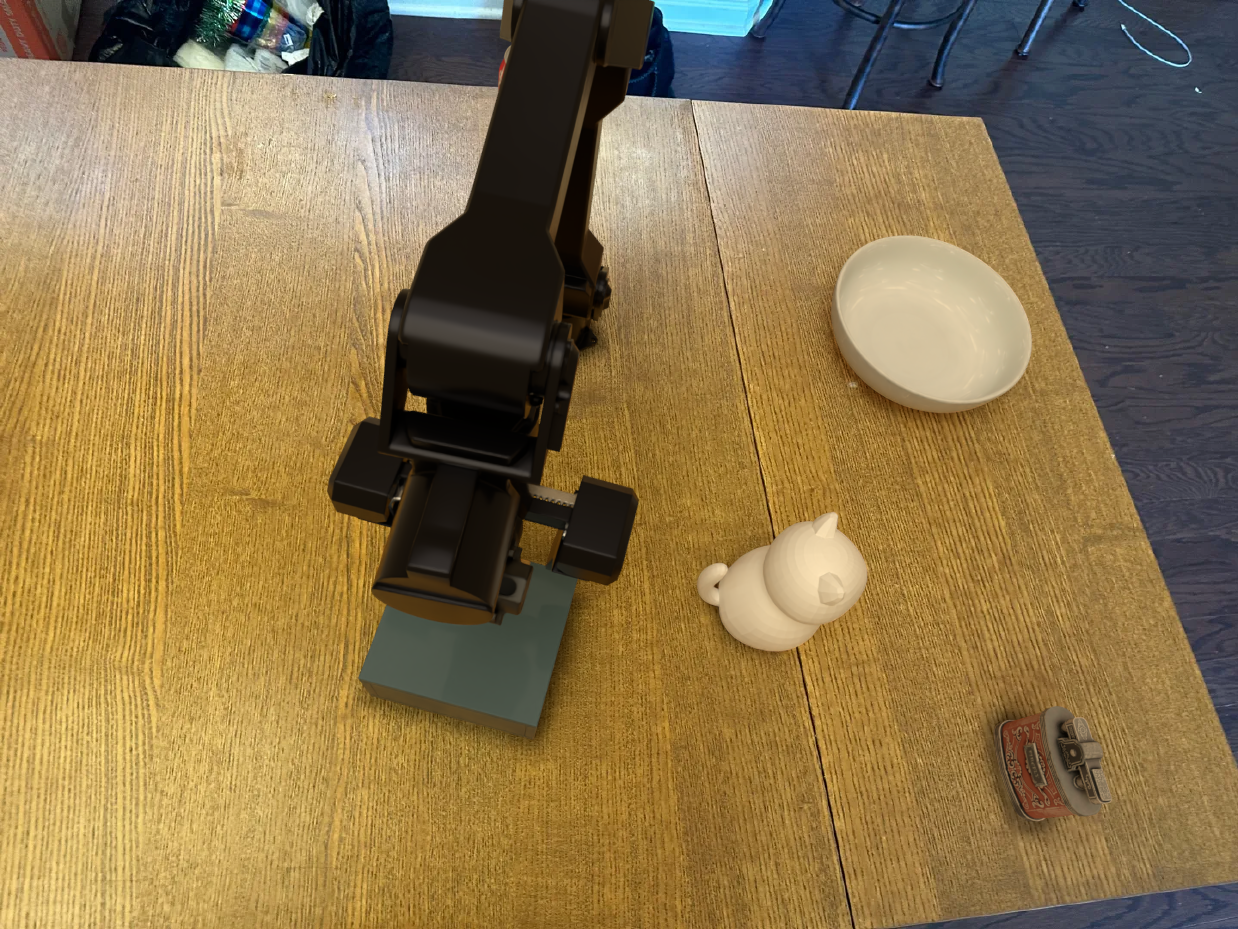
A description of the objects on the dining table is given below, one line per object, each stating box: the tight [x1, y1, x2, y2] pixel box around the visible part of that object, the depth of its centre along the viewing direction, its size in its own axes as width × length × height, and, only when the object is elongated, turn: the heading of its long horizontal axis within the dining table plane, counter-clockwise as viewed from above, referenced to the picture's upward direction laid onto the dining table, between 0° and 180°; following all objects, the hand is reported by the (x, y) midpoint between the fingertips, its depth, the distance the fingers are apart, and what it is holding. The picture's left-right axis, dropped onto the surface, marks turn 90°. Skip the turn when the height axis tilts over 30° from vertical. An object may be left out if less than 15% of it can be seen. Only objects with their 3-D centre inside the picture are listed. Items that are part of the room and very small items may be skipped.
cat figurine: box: [696, 511, 868, 652], centre depth 66 cm, size 9×12×15 cm
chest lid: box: [357, 558, 579, 729], centre depth 61 cm, size 12×14×5 cm
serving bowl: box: [830, 234, 1033, 414], centre depth 85 cm, size 21×21×7 cm
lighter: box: [993, 705, 1113, 823], centre depth 65 cm, size 8×3×10 cm, turn 5°
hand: (488, 546), depth 59 cm, fingers open, 9 cm apart
